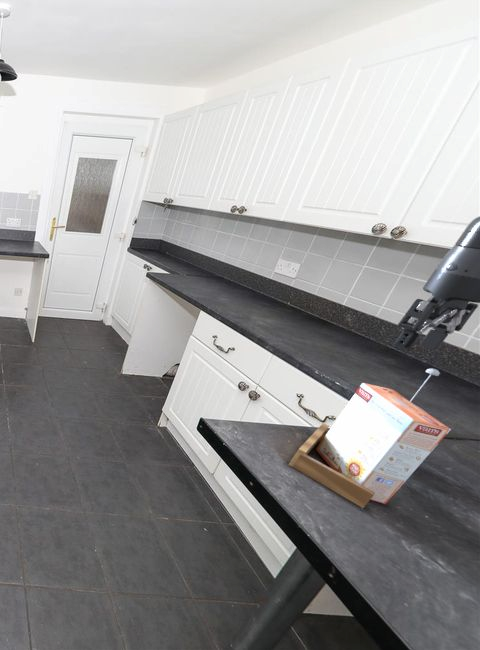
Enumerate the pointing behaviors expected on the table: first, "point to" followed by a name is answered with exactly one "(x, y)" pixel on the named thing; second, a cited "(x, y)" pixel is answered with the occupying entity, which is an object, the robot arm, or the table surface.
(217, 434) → the table surface
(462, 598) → the table surface
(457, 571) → the table surface
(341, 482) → the rack
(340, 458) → the cracker box
